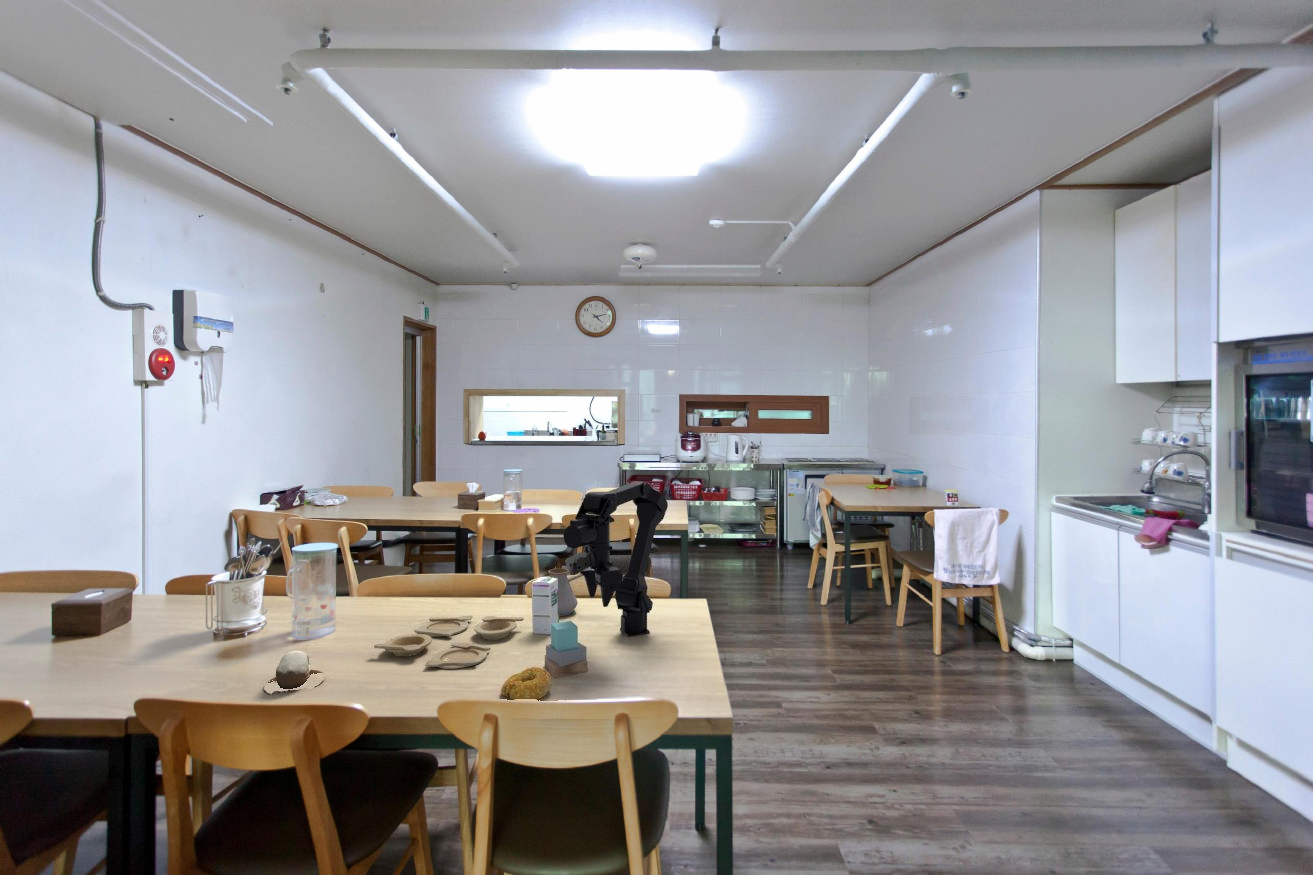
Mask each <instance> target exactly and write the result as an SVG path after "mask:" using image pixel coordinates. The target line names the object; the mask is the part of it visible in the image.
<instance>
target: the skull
mask: <svg viewBox="0 0 1313 875" xmlns="http://www.w3.org/2000/svg"><path fill="white" fill-rule="evenodd" d="M313 673H314V674H317V673H323V671H320V670H316V669H311V661H310V657H309V654H308V653H306V652H304V651H302V650H292V651H289V652H287V653H285V654H283V656H282V657H281V659H280V662H279V663H278V665H277V667H276V669H275V676H274V677H273V678H270V679H269V680H268V681H267V682H268V683H271V682H273V681H277V683H278V685H279V686H280V688H283V689H293V688H297V687H300V686H301V685H303V684H304V683H305V682H306V681H307V679H308V678H309V677H310V675H311V674H313ZM272 680H273V681H272ZM269 681H270V682H269Z"/></svg>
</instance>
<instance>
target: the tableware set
mask: <svg viewBox="0 0 1313 875" xmlns="http://www.w3.org/2000/svg"><path fill="white" fill-rule="evenodd" d="M473 617H474V615H461V616H454V617H453V616H452V617H451V616H450V617H449V616H447V617H446V616H444V617H443V616H440V617H439V616H433V617H432V616H431V617H429V618H428V619H429V620H428V622H425V623H423V624H420V626H419V627H418V628H415V629H413V630H414V633H411V634H410V633H409V634H404V635H398V636H395V637H393V638H390V639H387V640H386V641H385V642H384V643H376V644H374V645H373V648H375V649H383V650H385V651H387V652H390V653H392V654H393V655H394V656H395V655H397V656H396V657H399V656H407V657H410V656H409V655H413V656H415V655H414V654H416V655H418V653H419V654H420V653H421V651H422V652H423V650H424V648H426V647H429V646H430V645H431V644H432V641H433V639H432V638H439V637H440V638H442V637H443V638H444V637H453V635H457V634H460V633H463V632H464V631H466V630H467V629H468V627H469V623H468V621H471V620H472V619H473ZM523 621H524V617H522V616H514V617H513V616H510V617H509V616H505V617H501V616H500V617H498V616H495V615H488V616H487V615H486V616H483V617H482V618H481V622H478V623H477V624H475V625H474V627H473V631H474V632H475V633H476V634H479V635H481V637H482V638H483V639H485V640H488V641H495V640H496V641H497V640H502V639H505V638H507V637H508V636H509V634H510V633H511V632H513V630H515V629H516V628H517V626H518V623H517V622H523ZM450 646H451V647H450V648H447V649H446V648H445V649H444V650H441V651H439V652H437V653H434V655H433V656H432V657H431V660H427V661H426V663H425V664H424V666H425V667H433V668H435V667H437V668H439V669H445V670H446V669H448V670H453V669H456V670H457V669H462V668H463V669H464V668H468V667H473V666H474V665H477V664H480V663H482V662H483V661H484V660H486V658H487V657H488V652H489V651H490V650H491V646H487V645H481V644H475V643H470V642H469V643H468V642H462V641H457V640H456V641H452V642H451V643H450ZM487 651H488V652H487ZM445 658H448V659H449V660H448V659H447V660H448V661H443V660H444V659H445Z"/></svg>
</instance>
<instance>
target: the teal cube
mask: <svg viewBox="0 0 1313 875" xmlns="http://www.w3.org/2000/svg"><path fill="white" fill-rule="evenodd" d="M578 634H579V627H578V625H577V624H575V623H574V622H573V621H572V620H567V621H566V620H565V621H559V622H558V623H551V635H550V644H551V645H552V646H553V647H554V648H555V649H556V650H557V651H561V650H566V649H572V648H578V643H579V642H578V640H579V639H578V638H579V636H578Z"/></svg>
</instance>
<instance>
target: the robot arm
mask: <svg viewBox="0 0 1313 875" xmlns="http://www.w3.org/2000/svg"><path fill="white" fill-rule="evenodd" d="M629 502H632V503H633V504H634V506H636V509H635V510H636V512H635V514H636V516H637V520H638V525H637V526H638V527H637V531H636V534H635V539H634V542H633V547H632V551H631V555H630V559H629V563H628V568H627V571H626V573H625V574H624V571H622V570H621V569H620V568H618V567H616V566H613V561H611V560H610V557H611V555H610V554H611V552H610V551H613V545H611V544H610V543H611V542H610V540H611V539H610V538H611V537H610V536H611V535H610V534H611V533H610V528H611V527H610V524H611V523H614V522H615V518H614V517H612V516H611V515H612V514H614V512H616V511H617V509H618V507H620V506H621V505H624V504H627V503H629ZM667 510H668V500H667V499H666V498H665V495H663V493H661V492H660V491H658V490H656V489H655V488H653V487H652V486H651V485H650V484H649V483H648V482H646V481H636V480H633V481H631V482H630V483H628V484H625V485H622V486H620V487H616V488H614V489H611V490H609V491H589V492H586V494H585V495H584V498H583V499H582V501H581V504H580V507H579V508H578V511H577V513H576V515H575V517H574V518H575V519H570V520H569V525H568V526H567V527H565V530H564V533H563V540H564V543H565V545H566V546H567V547H568V548H570V549H574V550H575V549H578V548H581V547H583V551H581V552H579V553H576V554H574V555H572V556H570V557H567V558H566V559H565V560H564V562H565V565H566V569H568V571H569V573H571V574H572V575H574V576H576V575H579V574H582V575H583V576H582V577H584V580H585V584H586V587H587V591H588V596H589V597H590V598H595V595H596V592H597V590H598V587H600V594H601V601H602V606H603V608H606V607H608V606H609V605H610V603H611V600H612V598H613V596H614V599H615V604H616V606H617V609H618V610H622V611H621V612H622V614H621V615H620V627H619V630H620V632H622V633H624V634H625V635H626V636H627V637H634V636H639V635H645V634H650V633H651V631H650V630H649V629H648V614H650V613H651V611H652V610H653V605H654V602H653V601H652V599H651V597H649V595H648V584H647V581H646V578H645V575H646V572H647V568H648V562H649V559H650V555H651V551H652V545H653V542H654V537H655V532H656V529H657V527H658V526H659V524H661V522H662V521H663V520H664V518H665V515H666V512H667Z"/></svg>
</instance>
